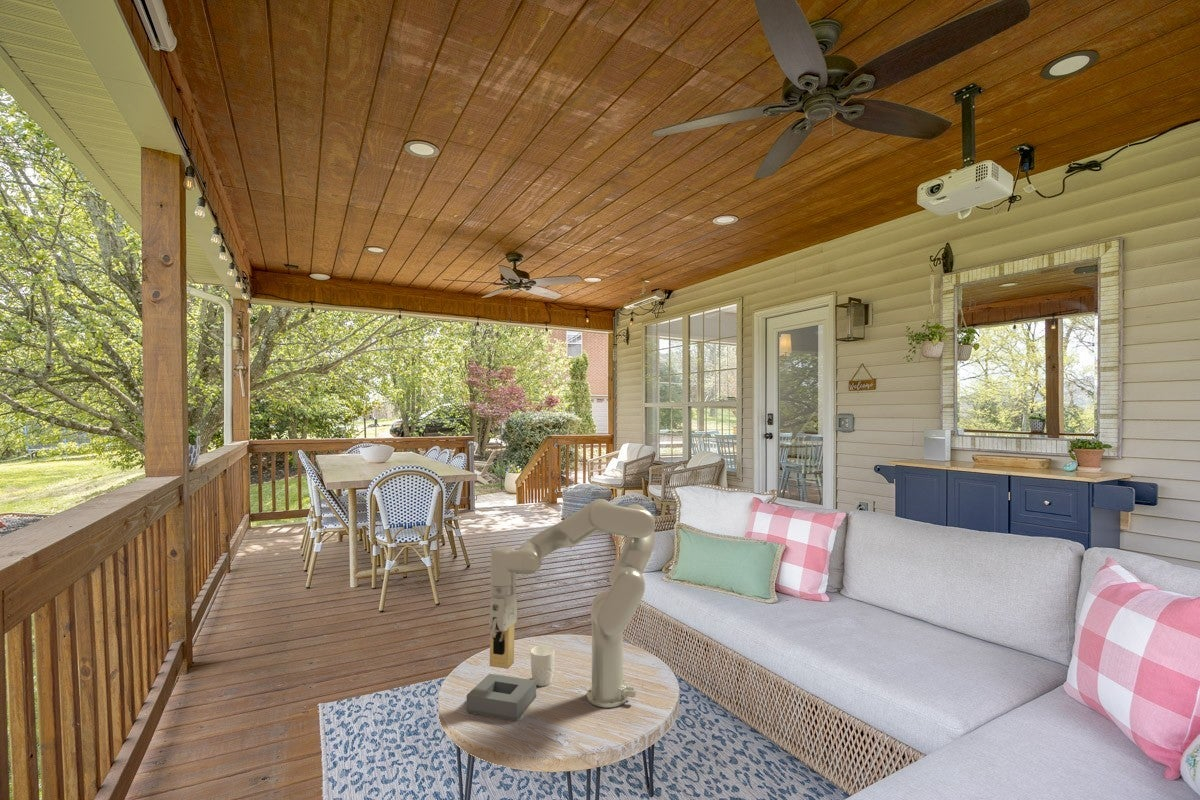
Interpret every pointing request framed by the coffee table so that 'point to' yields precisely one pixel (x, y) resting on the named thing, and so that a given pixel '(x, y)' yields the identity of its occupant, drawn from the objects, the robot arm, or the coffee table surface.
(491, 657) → the tall yellow pillar
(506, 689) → the well block
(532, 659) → the white cup
